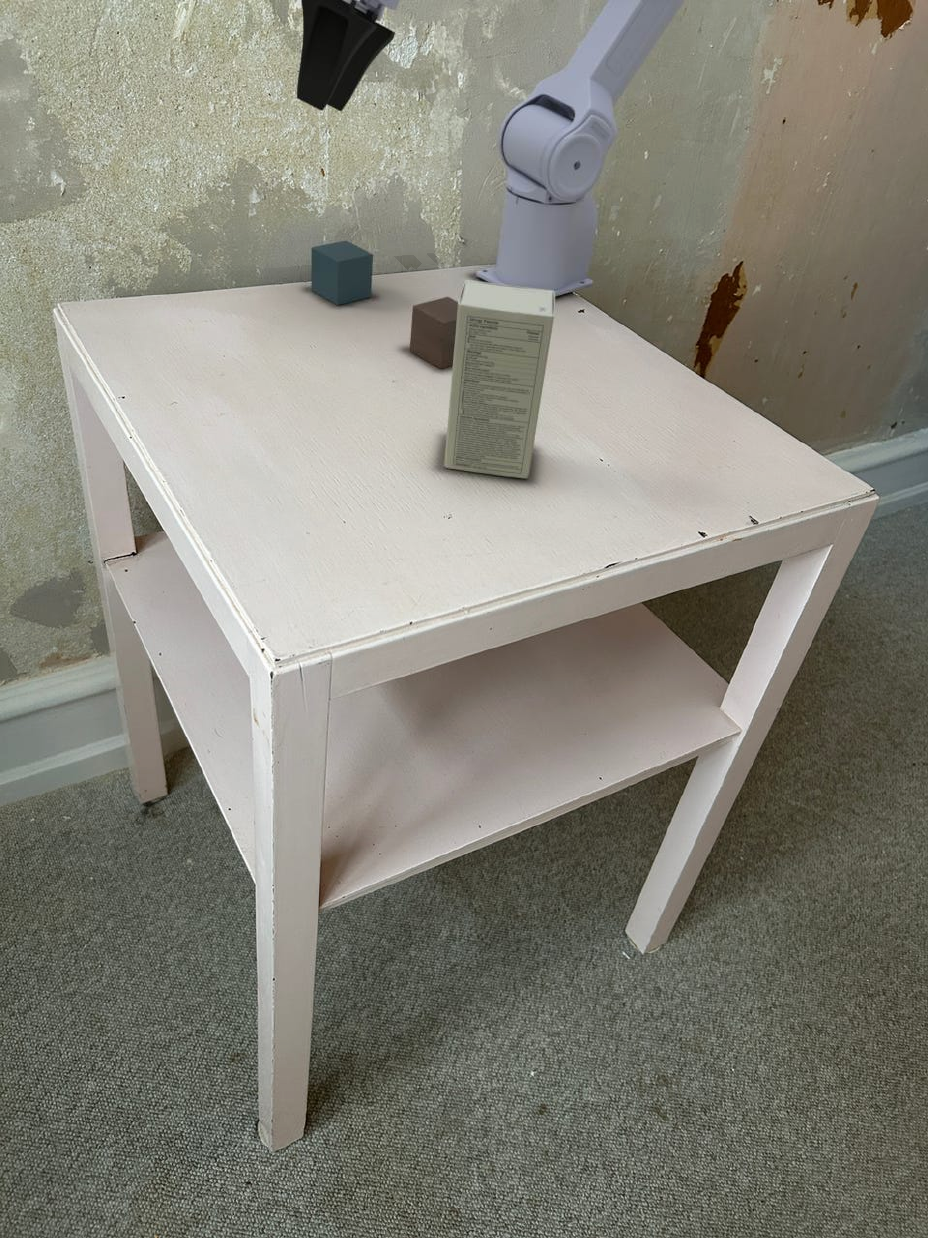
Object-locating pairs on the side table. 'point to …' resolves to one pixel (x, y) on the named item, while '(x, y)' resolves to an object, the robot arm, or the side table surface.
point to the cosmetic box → (497, 377)
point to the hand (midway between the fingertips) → (320, 104)
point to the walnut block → (434, 331)
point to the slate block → (341, 272)
